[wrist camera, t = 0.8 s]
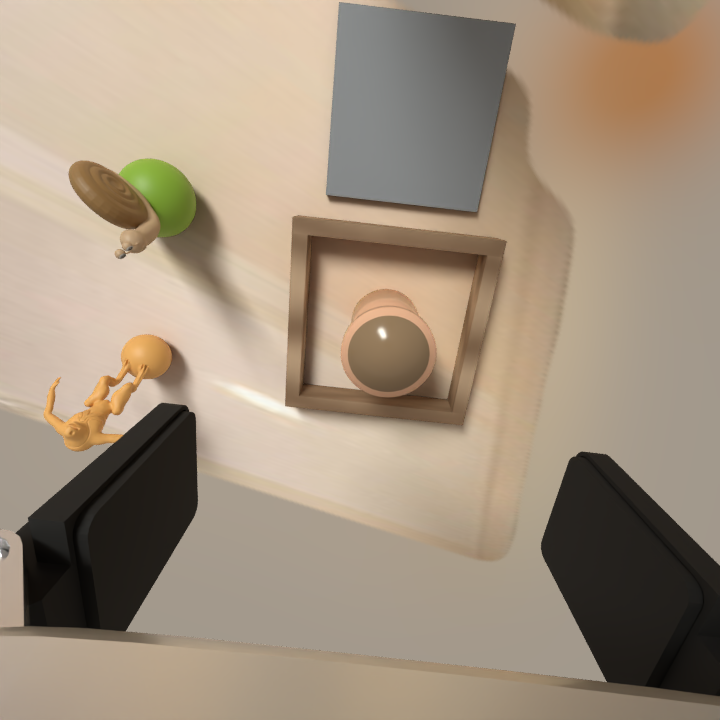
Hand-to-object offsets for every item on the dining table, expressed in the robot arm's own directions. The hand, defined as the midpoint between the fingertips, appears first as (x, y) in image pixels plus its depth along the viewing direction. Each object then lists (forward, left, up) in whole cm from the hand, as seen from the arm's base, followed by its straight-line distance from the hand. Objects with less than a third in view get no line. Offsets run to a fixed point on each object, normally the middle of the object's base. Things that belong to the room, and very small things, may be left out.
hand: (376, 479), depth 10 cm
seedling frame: (+4, +1, -26) cm, 27 cm away
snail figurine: (-4, -17, -26) cm, 31 cm away
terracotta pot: (+4, +1, -26) cm, 27 cm away
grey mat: (-12, +1, -26) cm, 29 cm away
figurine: (+10, -20, -26) cm, 34 cm away
